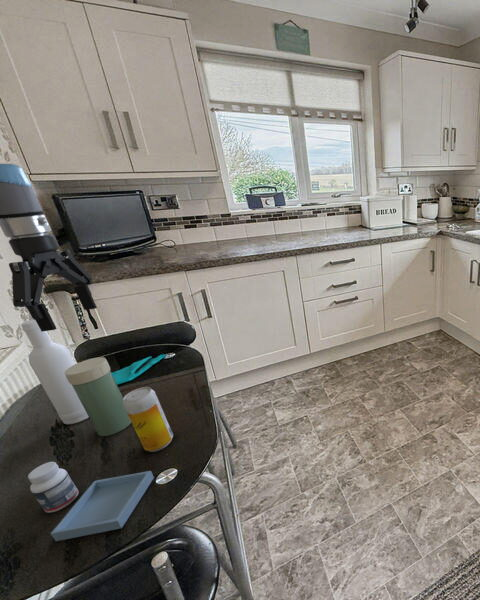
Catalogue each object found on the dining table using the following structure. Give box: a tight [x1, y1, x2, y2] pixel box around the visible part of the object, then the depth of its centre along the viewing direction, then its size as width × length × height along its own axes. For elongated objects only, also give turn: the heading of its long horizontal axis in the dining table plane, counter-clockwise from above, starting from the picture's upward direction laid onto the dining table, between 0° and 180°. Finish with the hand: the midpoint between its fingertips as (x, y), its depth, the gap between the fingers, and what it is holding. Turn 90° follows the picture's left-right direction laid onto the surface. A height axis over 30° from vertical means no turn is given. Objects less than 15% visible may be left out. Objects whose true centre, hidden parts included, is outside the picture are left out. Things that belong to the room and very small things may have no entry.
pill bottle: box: [27, 461, 79, 514], centre depth 66 cm, size 5×5×9 cm
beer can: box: [123, 386, 174, 453], centre depth 78 cm, size 6×6×15 cm
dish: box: [50, 470, 155, 542], centre depth 65 cm, size 11×11×2 cm
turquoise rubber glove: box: [111, 353, 167, 385], centre depth 114 cm, size 26×14×2 cm, turn 132°
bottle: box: [20, 319, 90, 425], centre depth 89 cm, size 8×8×30 cm
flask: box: [71, 370, 132, 437], centre depth 85 cm, size 8×8×18 cm
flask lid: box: [65, 356, 111, 385], centre depth 82 cm, size 8×8×3 cm
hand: (71, 318), depth 83 cm, fingers open, 13 cm apart
